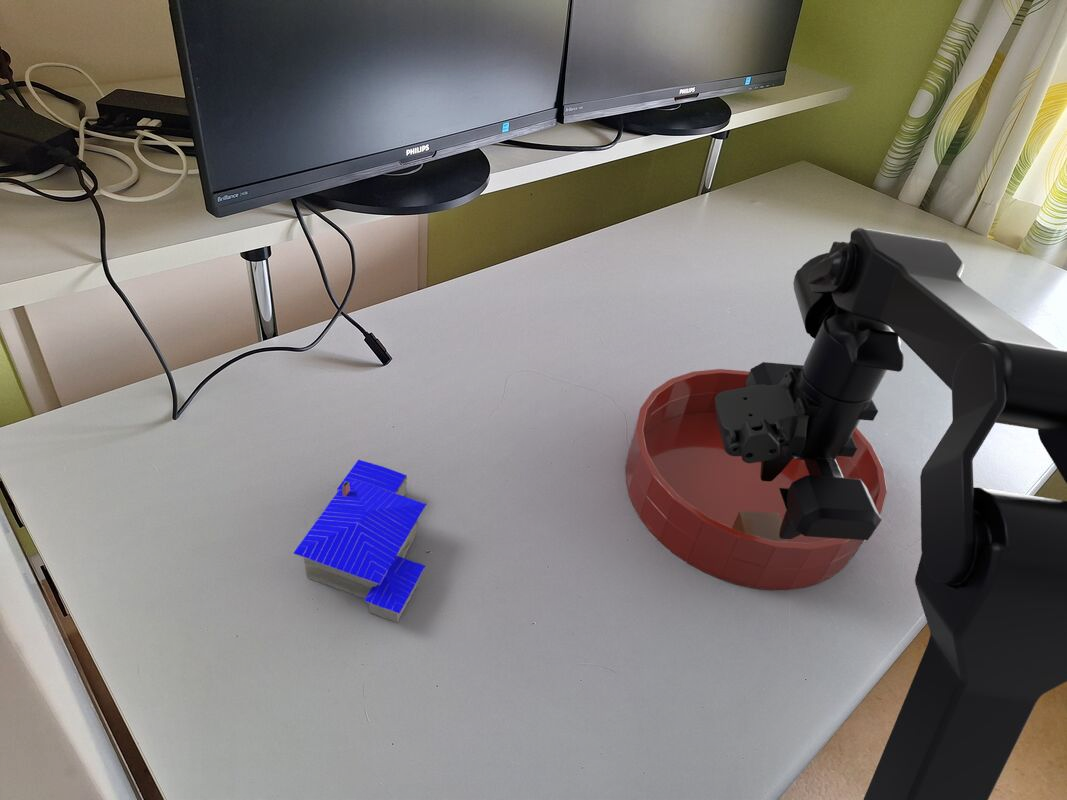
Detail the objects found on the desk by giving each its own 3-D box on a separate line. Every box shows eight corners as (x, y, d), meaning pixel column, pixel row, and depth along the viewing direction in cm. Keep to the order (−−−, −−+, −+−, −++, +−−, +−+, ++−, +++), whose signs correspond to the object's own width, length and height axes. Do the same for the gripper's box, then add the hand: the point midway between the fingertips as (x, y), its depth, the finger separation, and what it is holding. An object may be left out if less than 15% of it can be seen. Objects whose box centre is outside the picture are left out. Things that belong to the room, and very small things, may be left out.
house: (462, 511, 76) (465, 472, 72) (399, 628, 65) (399, 590, 61) (359, 476, 77) (357, 437, 74) (282, 585, 67) (275, 545, 63)
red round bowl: (910, 534, 80) (938, 493, 76) (733, 631, 69) (755, 589, 64) (746, 389, 96) (762, 348, 91) (579, 448, 84) (589, 405, 80)
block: (766, 539, 77) (779, 513, 74) (776, 572, 74) (790, 546, 71) (727, 536, 76) (739, 510, 74) (736, 569, 73) (748, 543, 71)
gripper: (716, 303, 66) (674, 431, 77) (769, 456, 52) (709, 588, 63) (838, 314, 67) (780, 439, 78) (922, 467, 53) (838, 595, 64)
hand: (774, 507), depth 70 cm, fingers open, 7 cm apart
